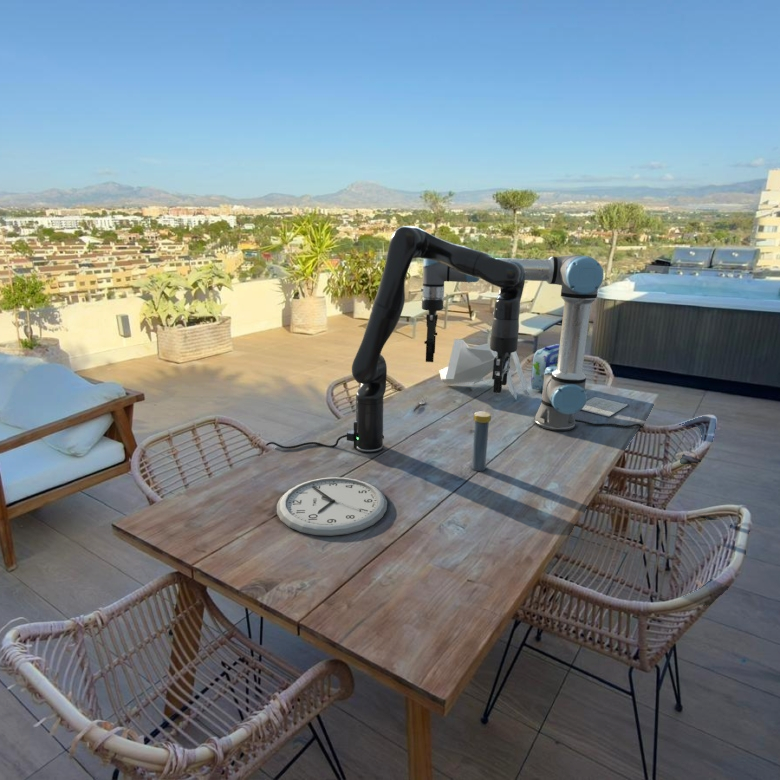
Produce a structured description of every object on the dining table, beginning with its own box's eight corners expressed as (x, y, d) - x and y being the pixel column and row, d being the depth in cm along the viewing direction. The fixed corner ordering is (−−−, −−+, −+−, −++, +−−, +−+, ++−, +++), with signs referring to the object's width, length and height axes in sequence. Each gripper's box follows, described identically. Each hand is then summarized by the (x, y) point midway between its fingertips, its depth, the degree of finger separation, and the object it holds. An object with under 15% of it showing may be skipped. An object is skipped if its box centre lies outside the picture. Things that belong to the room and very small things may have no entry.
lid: (487, 424, 158) (487, 418, 158) (471, 420, 161) (471, 414, 160) (492, 419, 163) (493, 413, 162) (477, 415, 165) (477, 410, 164)
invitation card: (608, 416, 214) (573, 407, 224) (608, 416, 214) (573, 408, 224) (628, 404, 229) (594, 396, 238) (628, 405, 229) (594, 397, 238)
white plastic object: (461, 429, 252) (437, 405, 227) (444, 352, 274) (420, 323, 250) (535, 404, 240) (518, 377, 215) (510, 326, 262) (492, 293, 237)
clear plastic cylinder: (482, 472, 164) (486, 418, 158) (469, 469, 166) (473, 416, 160) (487, 467, 167) (491, 414, 162) (474, 464, 169) (478, 412, 164)
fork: (410, 411, 216) (410, 407, 215) (421, 400, 230) (421, 396, 229) (416, 412, 215) (416, 408, 214) (427, 401, 229) (427, 396, 228)
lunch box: (547, 396, 238) (552, 351, 232) (526, 391, 246) (531, 347, 239) (574, 385, 256) (579, 343, 250) (554, 380, 263) (559, 340, 257)
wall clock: (392, 527, 129) (268, 531, 127) (391, 533, 130) (269, 537, 127) (383, 473, 158) (282, 475, 155) (383, 478, 158) (282, 480, 156)
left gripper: (496, 328, 156) (492, 380, 160) (486, 337, 143) (481, 393, 148) (521, 330, 153) (516, 383, 158) (514, 339, 140) (508, 397, 145)
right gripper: (424, 293, 195) (422, 349, 202) (419, 302, 172) (417, 365, 178) (444, 294, 195) (441, 350, 201) (442, 303, 171) (439, 366, 177)
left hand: (499, 388), depth 153 cm, fingers open, 8 cm apart
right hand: (430, 357), depth 190 cm, fingers open, 13 cm apart
